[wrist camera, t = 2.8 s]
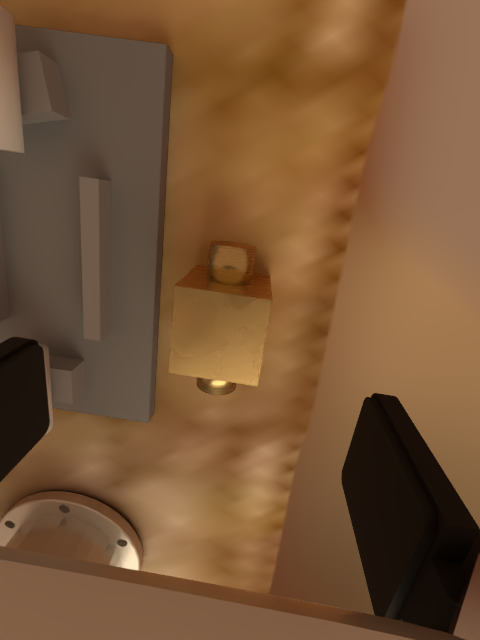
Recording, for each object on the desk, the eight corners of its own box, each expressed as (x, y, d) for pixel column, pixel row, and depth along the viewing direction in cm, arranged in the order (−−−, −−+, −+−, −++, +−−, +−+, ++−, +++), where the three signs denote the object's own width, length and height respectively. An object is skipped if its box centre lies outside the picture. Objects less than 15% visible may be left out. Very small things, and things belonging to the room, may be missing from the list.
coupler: (254, 368, 23) (252, 417, 18) (188, 358, 23) (166, 404, 18) (275, 244, 20) (279, 259, 15) (199, 234, 20) (177, 244, 15)
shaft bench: (154, 412, 25) (126, 464, 20) (-18, 386, 25) (-87, 430, 20) (173, 54, 17) (136, -5, 12) (-71, 22, 18) (-201, -48, 13)
